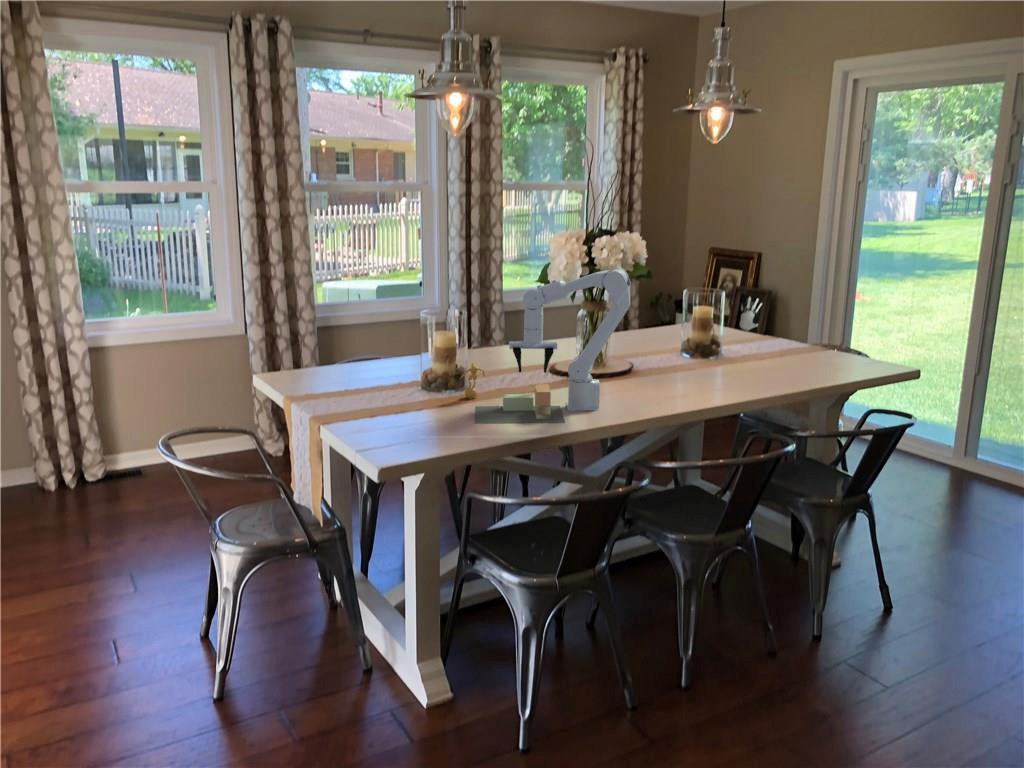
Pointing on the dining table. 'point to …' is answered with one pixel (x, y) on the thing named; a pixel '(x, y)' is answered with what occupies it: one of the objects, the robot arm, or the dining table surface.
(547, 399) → the tan rectangular block
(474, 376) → the figurine
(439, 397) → the dining table surface
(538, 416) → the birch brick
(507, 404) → the sage brick
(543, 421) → the mat
